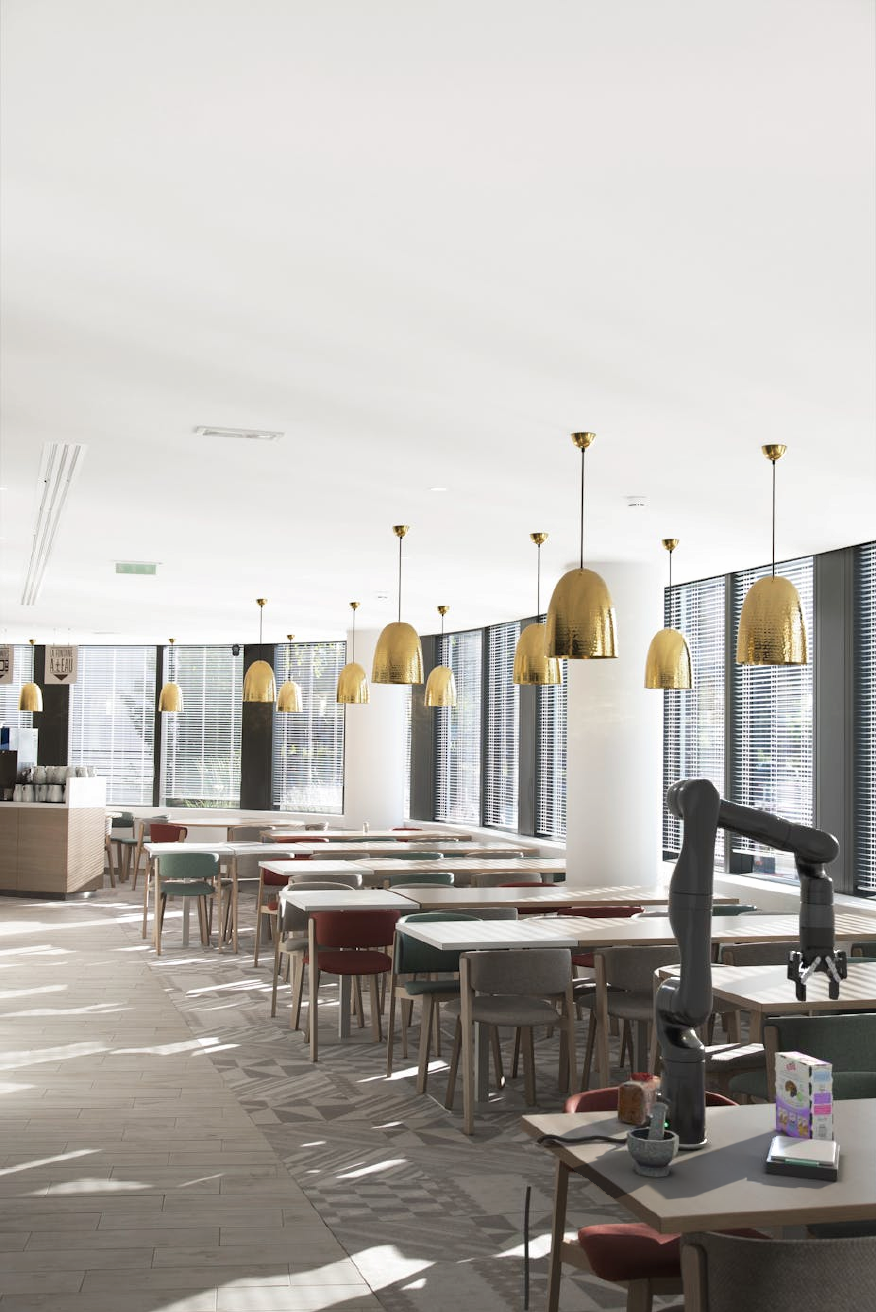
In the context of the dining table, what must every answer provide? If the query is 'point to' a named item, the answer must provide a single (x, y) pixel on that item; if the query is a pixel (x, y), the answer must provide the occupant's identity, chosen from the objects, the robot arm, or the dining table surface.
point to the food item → (637, 1098)
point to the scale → (804, 1158)
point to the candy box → (804, 1096)
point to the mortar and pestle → (653, 1145)
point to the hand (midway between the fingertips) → (817, 1000)
